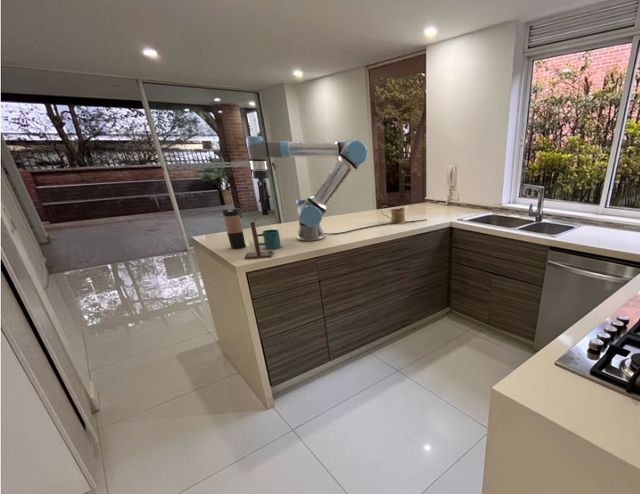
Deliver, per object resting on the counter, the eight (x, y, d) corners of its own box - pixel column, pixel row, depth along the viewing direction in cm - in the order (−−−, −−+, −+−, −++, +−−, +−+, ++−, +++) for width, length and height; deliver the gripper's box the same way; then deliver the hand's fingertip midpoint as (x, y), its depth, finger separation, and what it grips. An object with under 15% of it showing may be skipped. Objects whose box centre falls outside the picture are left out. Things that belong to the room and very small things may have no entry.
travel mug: (239, 249, 183) (231, 211, 174) (227, 248, 184) (218, 211, 176) (249, 245, 189) (241, 209, 181) (237, 245, 191) (228, 208, 183)
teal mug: (281, 244, 191) (278, 229, 187) (280, 248, 184) (277, 232, 180) (258, 246, 188) (255, 230, 184) (256, 250, 181) (253, 233, 177)
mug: (382, 221, 253) (381, 204, 248) (405, 220, 254) (405, 204, 249) (382, 224, 242) (381, 207, 237) (406, 223, 244) (406, 206, 239)
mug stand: (273, 249, 182) (267, 217, 175) (271, 257, 170) (264, 222, 163) (249, 251, 179) (242, 218, 171) (245, 259, 167) (237, 223, 160)
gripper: (255, 168, 180) (262, 209, 189) (247, 171, 158) (256, 217, 167) (270, 168, 182) (276, 208, 191) (265, 171, 160) (272, 216, 169)
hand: (267, 212), depth 179 cm, fingers open, 13 cm apart
